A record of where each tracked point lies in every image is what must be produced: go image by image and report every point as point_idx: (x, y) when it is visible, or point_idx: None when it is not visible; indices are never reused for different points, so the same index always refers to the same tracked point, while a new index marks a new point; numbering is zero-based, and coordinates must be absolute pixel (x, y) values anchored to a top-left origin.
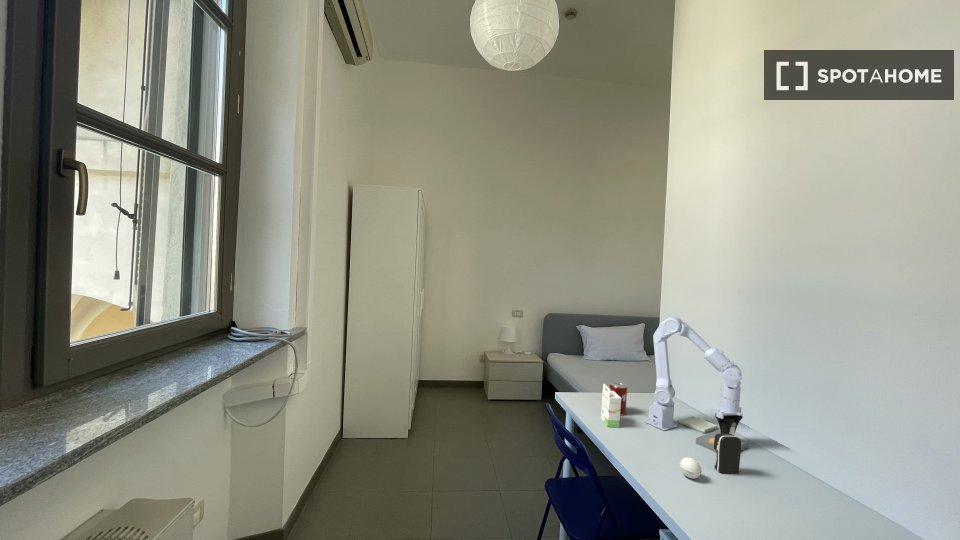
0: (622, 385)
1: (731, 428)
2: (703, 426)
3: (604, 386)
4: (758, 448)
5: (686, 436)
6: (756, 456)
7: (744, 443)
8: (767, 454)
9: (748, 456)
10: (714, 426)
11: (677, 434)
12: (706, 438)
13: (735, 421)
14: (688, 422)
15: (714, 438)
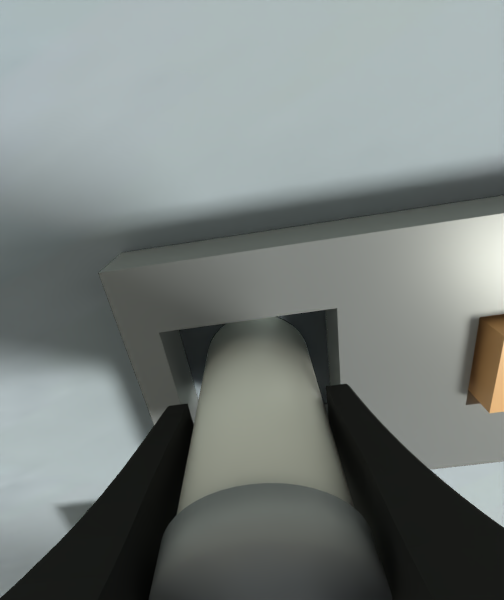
0: None
1: (314, 464)
2: None
3: None
4: (15, 200)
5: (468, 489)
6: (246, 71)
7: (197, 258)
8: (35, 59)
9: (347, 106)
10: None
11: (495, 516)
12: (501, 427)
13: (122, 597)
14: None
15: (494, 400)
